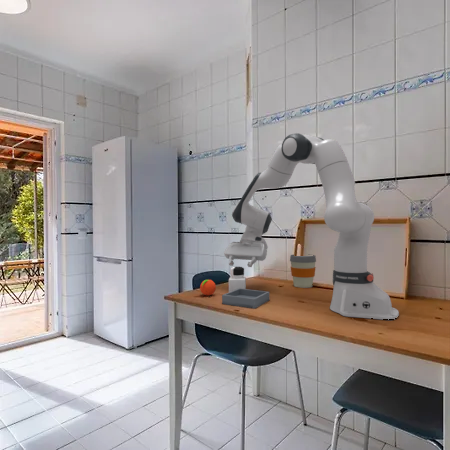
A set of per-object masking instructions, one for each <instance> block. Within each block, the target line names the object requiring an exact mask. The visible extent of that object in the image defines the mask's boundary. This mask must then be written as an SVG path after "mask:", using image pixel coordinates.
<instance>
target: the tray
mask: <svg viewBox="0 0 450 450" xmlns="http://www.w3.org/2000/svg"><path fill="white" fill-rule="evenodd" d="M269 301H270V291H265V290H257V289H247V288H246V289H240V288H239V289H236V290H234V291H231V292H229V291H228V292H227V293H226V292H225V293H224V294H222V295H221V305H226V306H233V307H235V306H236V307H240V308H247V309H248V308H249V309H253V310H254V309H257V308H259V307H260V306H262V305H264V304H266V303H267V302H269Z"/></svg>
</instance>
